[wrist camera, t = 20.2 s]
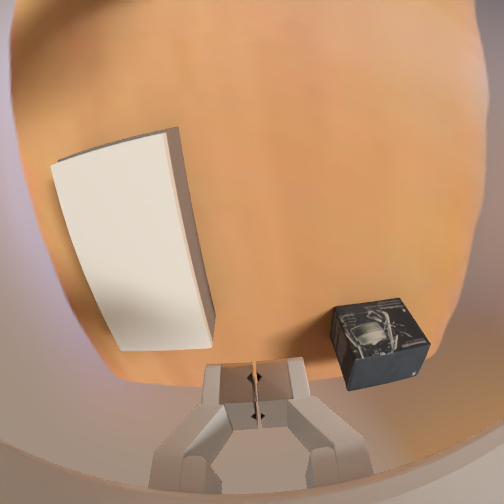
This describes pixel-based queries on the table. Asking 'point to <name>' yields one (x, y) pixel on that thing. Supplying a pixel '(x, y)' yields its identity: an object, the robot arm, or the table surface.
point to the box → (377, 343)
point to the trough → (186, 214)
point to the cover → (134, 244)
